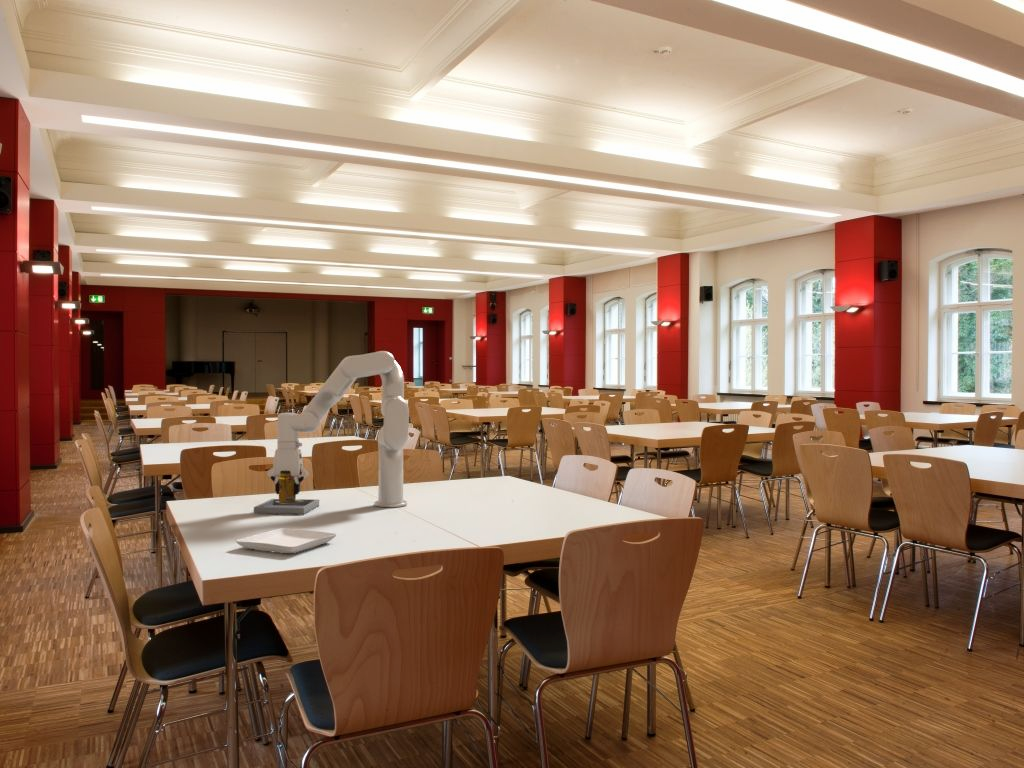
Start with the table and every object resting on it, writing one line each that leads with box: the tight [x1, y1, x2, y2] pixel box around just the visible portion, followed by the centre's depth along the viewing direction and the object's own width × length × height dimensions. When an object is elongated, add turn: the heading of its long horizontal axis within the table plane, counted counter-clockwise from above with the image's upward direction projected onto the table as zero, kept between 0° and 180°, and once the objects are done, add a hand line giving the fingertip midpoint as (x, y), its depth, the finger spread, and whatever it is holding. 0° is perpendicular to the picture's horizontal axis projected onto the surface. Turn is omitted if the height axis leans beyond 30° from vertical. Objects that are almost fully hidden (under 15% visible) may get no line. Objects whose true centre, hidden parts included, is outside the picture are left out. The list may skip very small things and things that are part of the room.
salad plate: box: [235, 527, 337, 554], centre depth 228 cm, size 21×21×3 cm
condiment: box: [276, 471, 302, 504], centre depth 287 cm, size 7×8×12 cm
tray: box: [253, 498, 320, 516], centre depth 287 cm, size 18×18×2 cm
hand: (287, 493), depth 287 cm, fingers closed on condiment, 6 cm apart
